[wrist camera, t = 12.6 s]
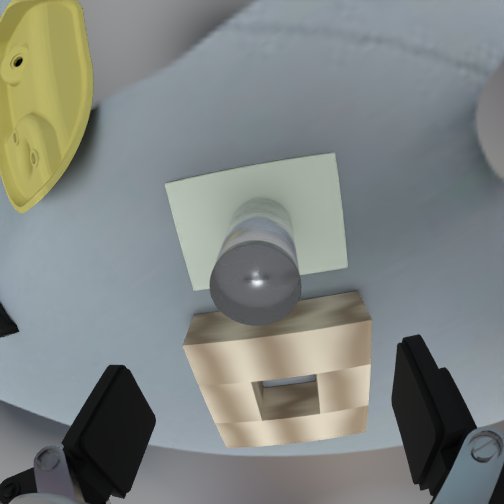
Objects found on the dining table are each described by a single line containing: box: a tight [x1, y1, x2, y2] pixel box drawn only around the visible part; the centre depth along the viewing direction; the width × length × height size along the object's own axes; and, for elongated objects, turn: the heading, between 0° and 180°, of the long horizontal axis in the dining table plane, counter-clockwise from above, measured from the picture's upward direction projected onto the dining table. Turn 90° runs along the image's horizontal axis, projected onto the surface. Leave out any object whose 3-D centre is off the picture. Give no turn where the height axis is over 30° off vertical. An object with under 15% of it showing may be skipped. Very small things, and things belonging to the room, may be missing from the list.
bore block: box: [183, 291, 372, 448], centre depth 31 cm, size 16×16×5 cm
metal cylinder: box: [209, 198, 301, 326], centre depth 22 cm, size 5×5×10 cm
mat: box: [165, 152, 348, 291], centre depth 27 cm, size 14×10×1 cm
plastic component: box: [0, 0, 93, 213], centre depth 22 cm, size 20×7×10 cm
